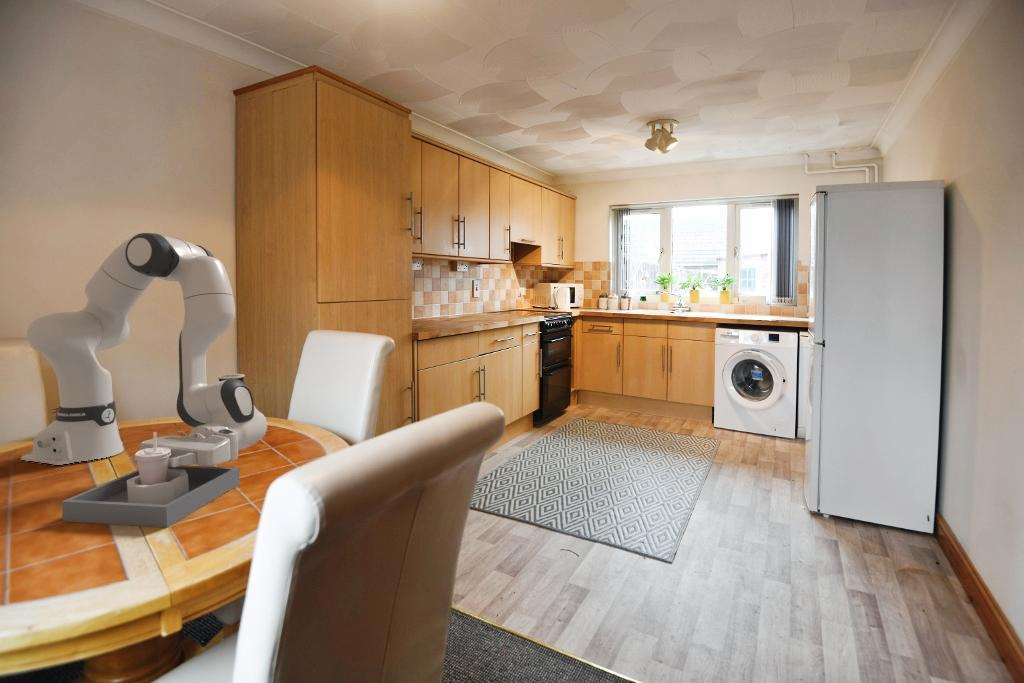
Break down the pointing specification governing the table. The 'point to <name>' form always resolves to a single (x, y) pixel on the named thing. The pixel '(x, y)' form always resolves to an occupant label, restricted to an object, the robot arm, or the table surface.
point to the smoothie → (153, 463)
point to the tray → (149, 513)
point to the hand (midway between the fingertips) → (152, 461)
